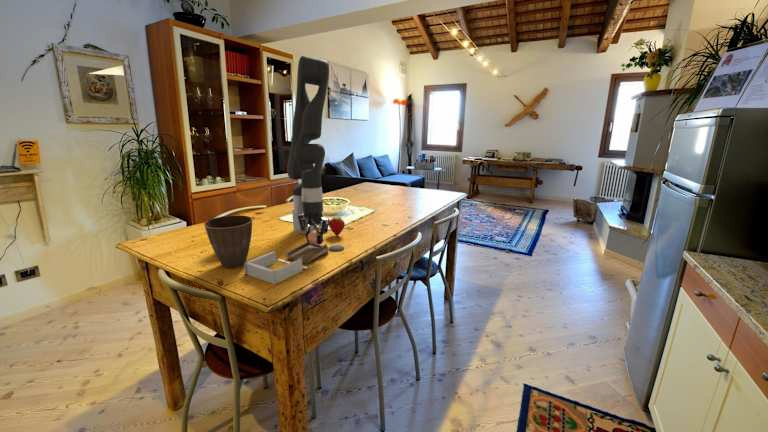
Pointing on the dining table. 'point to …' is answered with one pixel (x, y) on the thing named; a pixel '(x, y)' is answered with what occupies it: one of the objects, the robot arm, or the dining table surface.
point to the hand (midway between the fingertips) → (314, 242)
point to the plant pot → (230, 239)
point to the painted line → (289, 262)
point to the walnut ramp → (307, 252)
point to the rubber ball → (312, 237)
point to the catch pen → (273, 276)
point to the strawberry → (336, 225)
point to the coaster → (336, 248)
